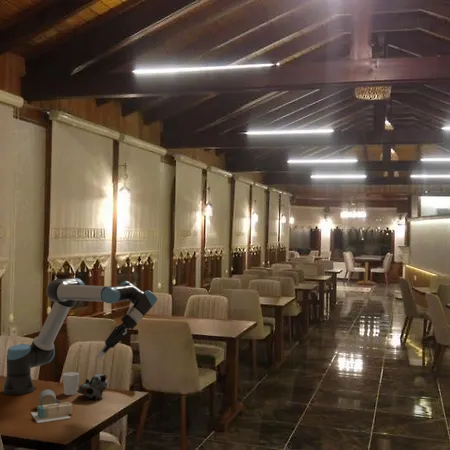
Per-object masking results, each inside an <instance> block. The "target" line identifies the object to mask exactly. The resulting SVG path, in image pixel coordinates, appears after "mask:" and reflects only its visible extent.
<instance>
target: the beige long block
mask: <svg viewBox="0 0 450 450" xmlns="http://www.w3.org/2000/svg"><path fill="white" fill-rule="evenodd" d="M37 412H38V416H39V418H40V419H41V418H48V417H55V416H62V415H72V414H73V404H72V403H71V401H63V402H62V403H55V404H48V405H37Z"/></svg>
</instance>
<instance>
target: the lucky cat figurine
mask: <svg viewBox="0 0 450 450" xmlns="http://www.w3.org/2000/svg"><path fill="white" fill-rule="evenodd" d="M89 379H90V380H89ZM108 384H109V380H108V375H106V374H101V373H97V374H95V375H93V376H92V377H91V378H86V379H85V382H84V383H82V384H81V385H80V386H78V390H77V392H78V393H79V394H81V395H83V396H85V397H87V398H89V399H93V400H94V401H98V400H99V399H102V397H103V393H104V391H105V390H106V389H107V388H108ZM78 393H77V394H78Z"/></svg>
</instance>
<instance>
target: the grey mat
mask: <svg viewBox="0 0 450 450" xmlns="http://www.w3.org/2000/svg"><path fill="white" fill-rule="evenodd" d="M30 414H31V416H32V418H33V419H34V420H35V422H36V423H37V424H43V423H51V422H57V421H63V420H70V419H71V416H70V414H68V415H62V416H55V417H48V418H41V419H40V418H39V416H38V411H32V412H30Z"/></svg>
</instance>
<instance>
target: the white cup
mask: <svg viewBox="0 0 450 450" xmlns="http://www.w3.org/2000/svg"><path fill="white" fill-rule="evenodd" d="M79 376H80V373H79V372H77V371H70V372H69V371H67V372H64V373H63V374H62V378H63V380H62V381H63V382H62V383H63V385H62V386H63V394H64V395H66V396H73V395H74V396H75V395H77V394H78V392H77V390H79V384H80V383H79V381H80V380H79V379H80V377H79Z"/></svg>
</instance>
